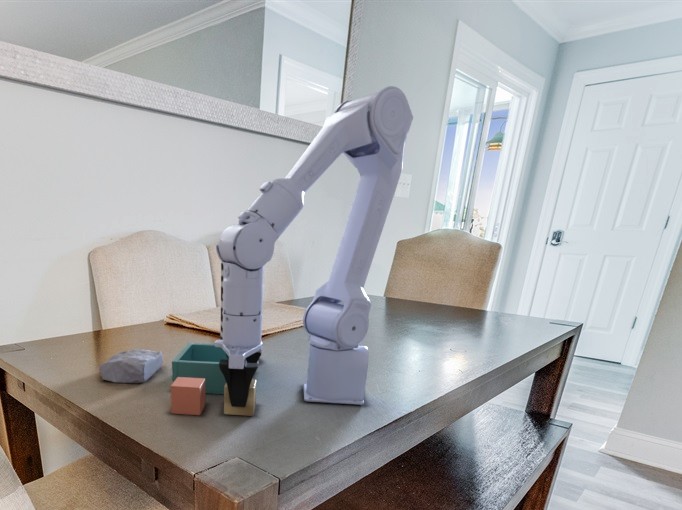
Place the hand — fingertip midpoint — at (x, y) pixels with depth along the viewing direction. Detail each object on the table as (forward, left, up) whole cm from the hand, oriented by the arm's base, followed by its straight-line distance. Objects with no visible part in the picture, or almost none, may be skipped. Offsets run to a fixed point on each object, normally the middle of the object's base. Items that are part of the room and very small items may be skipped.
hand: (240, 400), depth 72 cm
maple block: (0, 0, -2) cm, 2 cm away
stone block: (+23, -15, -2) cm, 28 cm away
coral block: (+8, +1, -2) cm, 8 cm away
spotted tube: (+3, -27, -2) cm, 27 cm away
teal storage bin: (+6, -13, -2) cm, 14 cm away
